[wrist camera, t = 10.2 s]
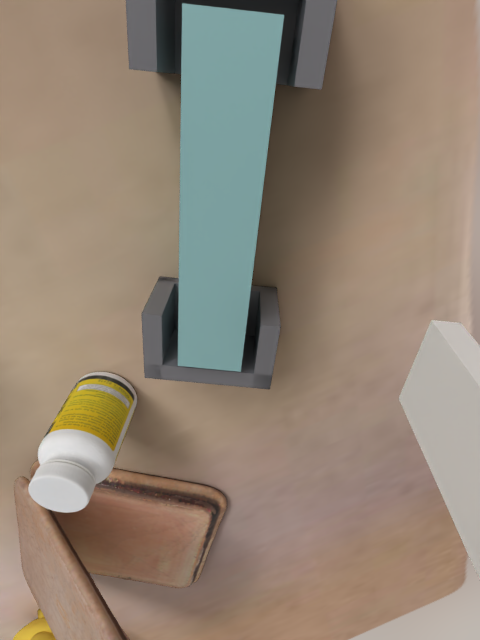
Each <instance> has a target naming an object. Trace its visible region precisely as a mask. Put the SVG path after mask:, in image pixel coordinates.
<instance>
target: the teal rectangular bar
mask: <svg viewBox="0 0 480 640" xmlns="http://www.w3.org/2000/svg"><path fill="white" fill-rule="evenodd" d="M283 21H284V15H281V14H273V13H264V12H255V11H246V10H237V9H229V8H220V7H211V6H202V5H193V4H185V3H182V56H181V138H180V221H179V303H178V366H185V367H195V368H206V369H216V370H227V371H237V372H241V366H242V358H243V349H244V341H245V333H246V325H247V316H248V308H249V300H250V292H251V284H252V275H253V267H254V259H255V251H256V243H257V234H258V226H259V218H260V210H261V201H262V193H263V185H264V177H265V169H266V160H267V152H268V144H269V136H270V128H271V119H272V111H273V103H274V95H275V86H276V78H277V70H278V62H279V54H280V45H281V37H282V29H283Z"/></svg>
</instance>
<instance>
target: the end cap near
mask: <svg viewBox="0 0 480 640" xmlns="http://www.w3.org/2000/svg"><path fill="white" fill-rule="evenodd" d="M182 3H185V4H193V5H202V6H211V7H220V8H229V9H237V10H246V11H255V12H264V13H273V14H281V15H284V21H283V29H282V37H281V45H280V54H279V62H278V70H277V78H276V84H280V85H289V86H294V87H303V88H312V89H321V90H322V85H323V79H324V73H325V67H326V62H327V56H328V50H329V44H330V38H331V33H332V27H333V21H334V15H335V10H336V4H337V0H126V14H127V34H128V54H129V69H133V70H142V71H152V72H163V73H176V74H181V56H182Z"/></svg>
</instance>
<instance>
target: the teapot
mask: <svg viewBox="0 0 480 640" xmlns="http://www.w3.org/2000/svg"><path fill="white" fill-rule="evenodd" d="M13 640H56V639H55V637H54V635H53V633H52V631H51V629H50V627H49V625H48V623H47V621H46V619H45V617H44V615H43V613H42V611H41V610H40V609H39V610H38V619H36V620H33V621H32V622H30V623H29V624H28V625H26V626H25V627H24V628H22V629H21V630H20V631H19V632H18V633H17V634H16V635H15V637H14V639H13Z"/></svg>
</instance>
